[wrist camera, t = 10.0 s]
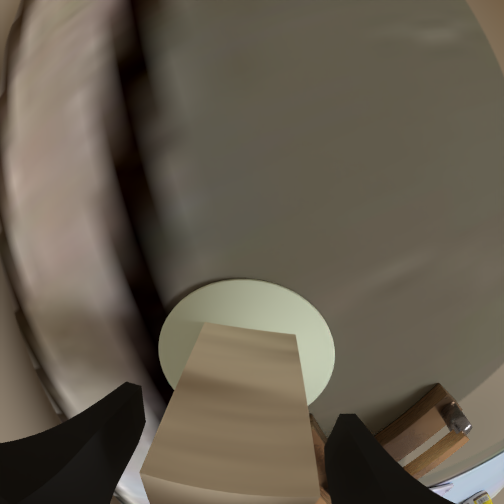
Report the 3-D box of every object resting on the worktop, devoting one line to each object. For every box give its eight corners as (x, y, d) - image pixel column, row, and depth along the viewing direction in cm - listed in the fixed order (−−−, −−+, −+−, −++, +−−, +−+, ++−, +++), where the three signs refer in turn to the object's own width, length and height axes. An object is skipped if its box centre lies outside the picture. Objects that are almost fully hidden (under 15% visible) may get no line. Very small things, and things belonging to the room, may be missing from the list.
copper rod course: (375, 486, 16) (385, 523, 12) (234, 475, 15) (228, 522, 11) (464, 385, 13) (494, 423, 9) (301, 357, 13) (311, 419, 9)
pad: (293, 432, 14) (294, 436, 14) (150, 392, 14) (149, 395, 13) (362, 310, 12) (364, 312, 12) (180, 252, 12) (178, 253, 12)
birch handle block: (279, 400, 13) (283, 541, 5) (200, 389, 13) (158, 525, 5) (295, 334, 12) (320, 496, 4) (204, 321, 12) (139, 472, 4)
